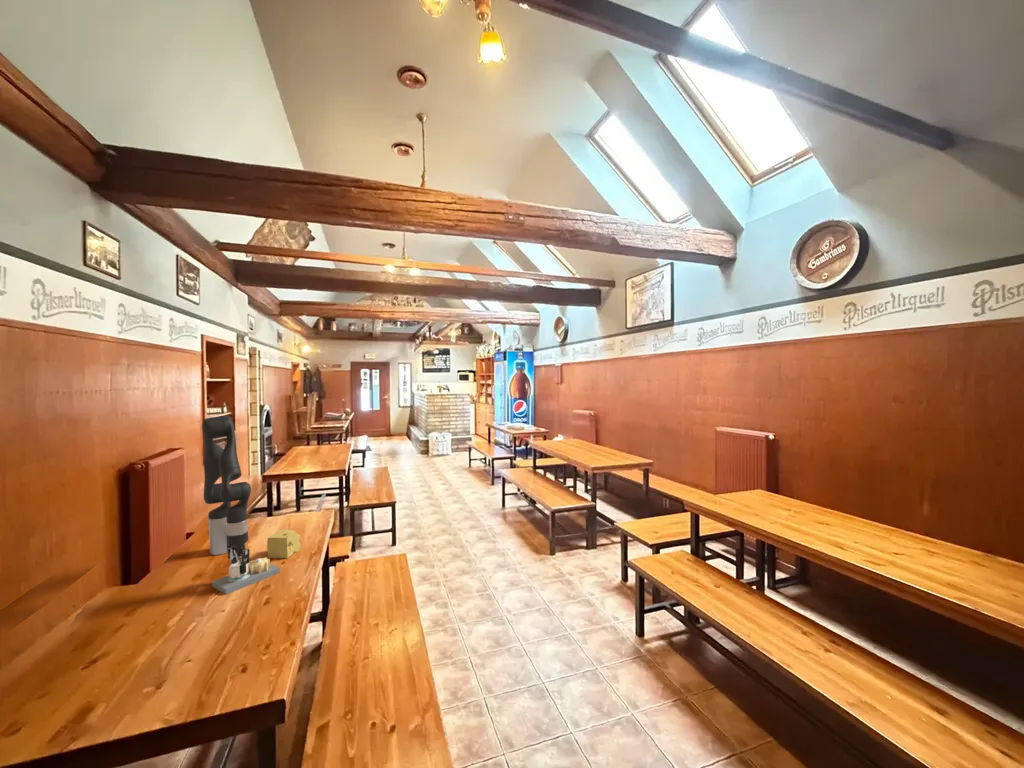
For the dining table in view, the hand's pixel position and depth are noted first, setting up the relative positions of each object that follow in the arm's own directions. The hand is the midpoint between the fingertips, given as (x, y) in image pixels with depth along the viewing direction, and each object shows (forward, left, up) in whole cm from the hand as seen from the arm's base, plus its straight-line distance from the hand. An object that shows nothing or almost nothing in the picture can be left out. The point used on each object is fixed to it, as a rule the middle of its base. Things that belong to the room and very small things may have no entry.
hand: (238, 571), depth 175 cm
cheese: (-11, +25, -5) cm, 28 cm away
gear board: (0, +3, -5) cm, 6 cm away
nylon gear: (0, 0, -1) cm, 1 cm away
